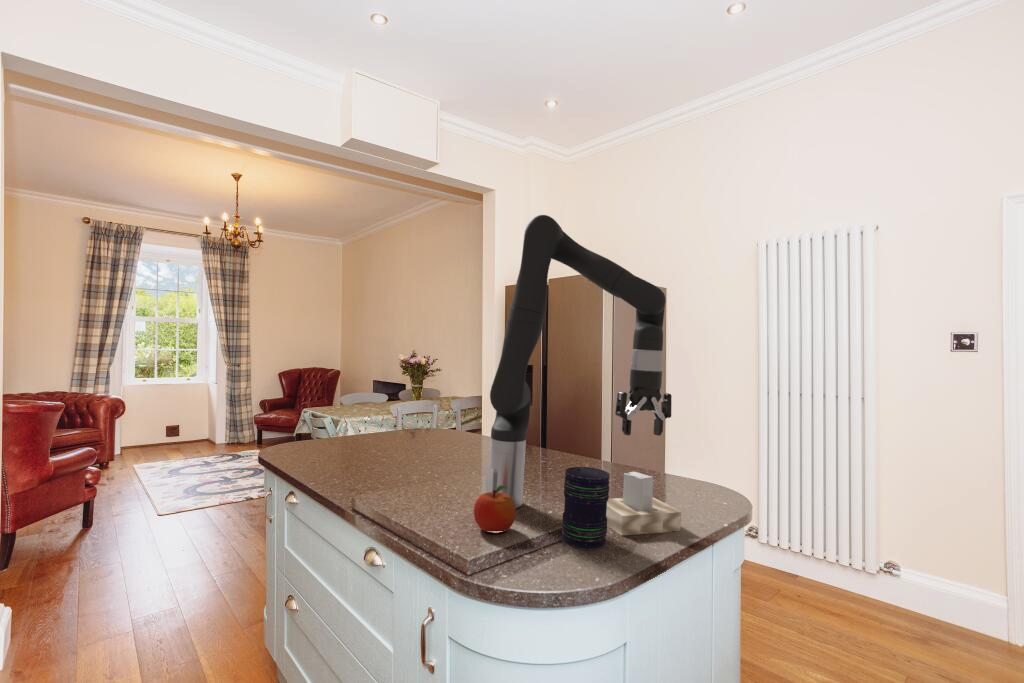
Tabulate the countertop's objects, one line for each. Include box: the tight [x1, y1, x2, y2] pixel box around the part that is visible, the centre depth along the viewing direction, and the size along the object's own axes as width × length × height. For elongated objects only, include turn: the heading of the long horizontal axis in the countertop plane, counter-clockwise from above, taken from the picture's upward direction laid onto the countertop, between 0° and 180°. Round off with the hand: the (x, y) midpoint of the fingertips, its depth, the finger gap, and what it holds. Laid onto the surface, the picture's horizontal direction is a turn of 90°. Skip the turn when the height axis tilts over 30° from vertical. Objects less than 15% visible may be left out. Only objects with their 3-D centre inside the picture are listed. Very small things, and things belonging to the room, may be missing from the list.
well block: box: [606, 496, 682, 536], centre depth 123 cm, size 16×12×4 cm
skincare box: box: [622, 471, 654, 512], centre depth 123 cm, size 6×4×12 cm
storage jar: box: [561, 466, 611, 551], centre depth 111 cm, size 10×10×15 cm
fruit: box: [473, 485, 517, 532], centre depth 114 cm, size 10×10×10 cm
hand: (642, 435), depth 123 cm, fingers open, 8 cm apart
